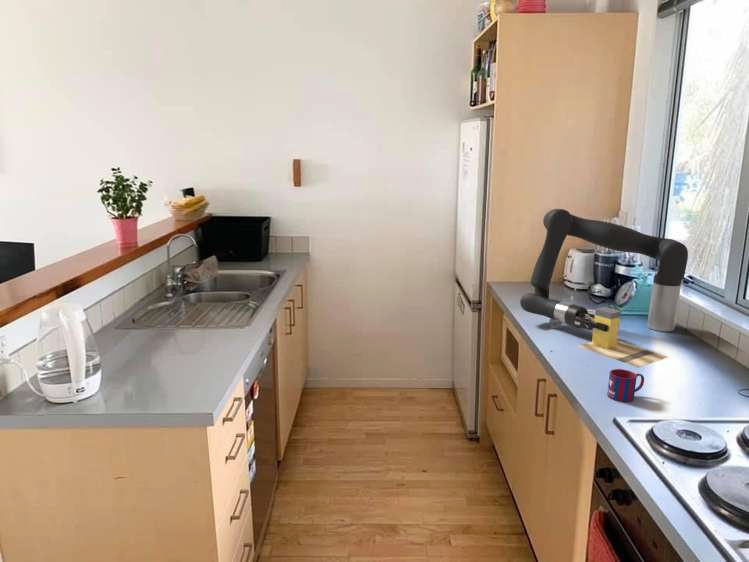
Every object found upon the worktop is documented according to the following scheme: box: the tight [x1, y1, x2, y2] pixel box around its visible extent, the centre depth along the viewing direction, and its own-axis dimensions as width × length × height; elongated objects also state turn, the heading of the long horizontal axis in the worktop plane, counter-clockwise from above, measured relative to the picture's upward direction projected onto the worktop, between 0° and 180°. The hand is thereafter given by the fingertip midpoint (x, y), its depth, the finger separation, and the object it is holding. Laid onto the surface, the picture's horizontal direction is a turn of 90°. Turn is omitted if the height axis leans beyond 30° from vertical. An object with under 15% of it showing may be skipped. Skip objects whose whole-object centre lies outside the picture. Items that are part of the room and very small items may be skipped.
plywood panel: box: [577, 339, 669, 368], centre depth 191 cm, size 17×22×1 cm
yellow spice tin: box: [591, 306, 622, 349], centre depth 196 cm, size 5×6×12 cm
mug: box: [606, 368, 645, 403], centre depth 159 cm, size 7×10×7 cm
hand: (613, 327), depth 194 cm, fingers open, 5 cm apart
